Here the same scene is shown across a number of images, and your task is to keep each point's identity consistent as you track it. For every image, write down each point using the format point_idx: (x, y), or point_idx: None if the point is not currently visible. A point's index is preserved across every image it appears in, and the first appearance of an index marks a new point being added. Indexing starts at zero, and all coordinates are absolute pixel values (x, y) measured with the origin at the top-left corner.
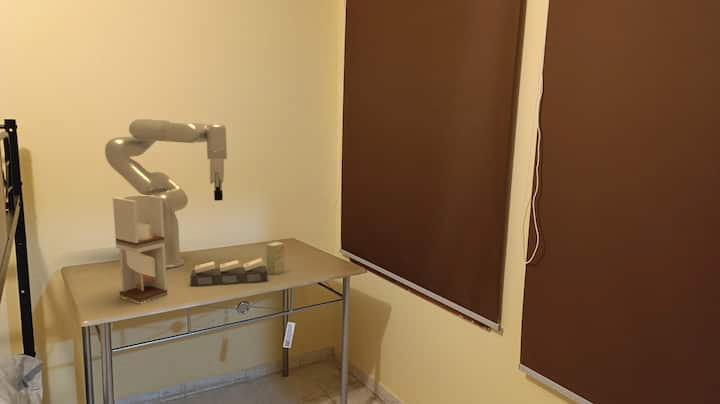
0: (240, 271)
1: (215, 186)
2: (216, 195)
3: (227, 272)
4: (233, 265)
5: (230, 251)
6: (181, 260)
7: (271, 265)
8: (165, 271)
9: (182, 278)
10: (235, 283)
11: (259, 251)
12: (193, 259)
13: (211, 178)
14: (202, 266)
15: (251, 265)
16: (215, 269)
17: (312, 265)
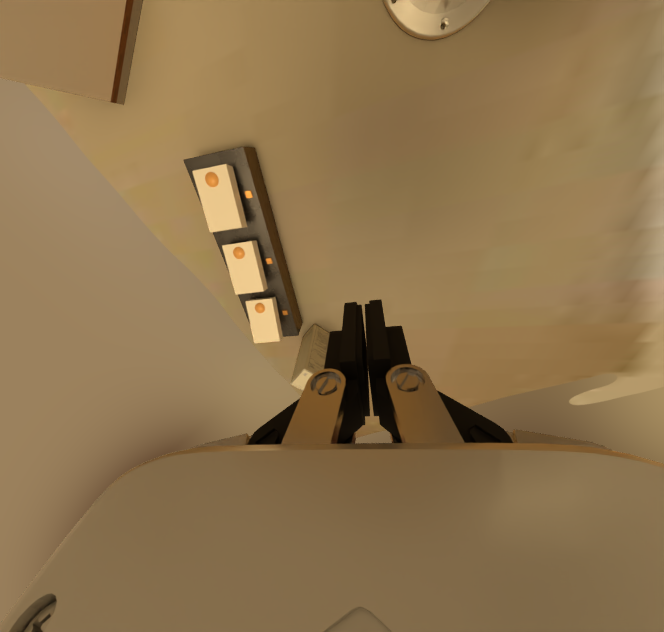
0: None
1: (259, 438)
2: (328, 348)
3: None
4: (233, 281)
5: (563, 206)
6: (455, 16)
7: (303, 344)
8: (52, 87)
9: (263, 103)
10: None
11: (519, 296)
12: (497, 67)
13: (9, 619)
14: (208, 195)
15: (249, 318)
16: (256, 223)
17: None
